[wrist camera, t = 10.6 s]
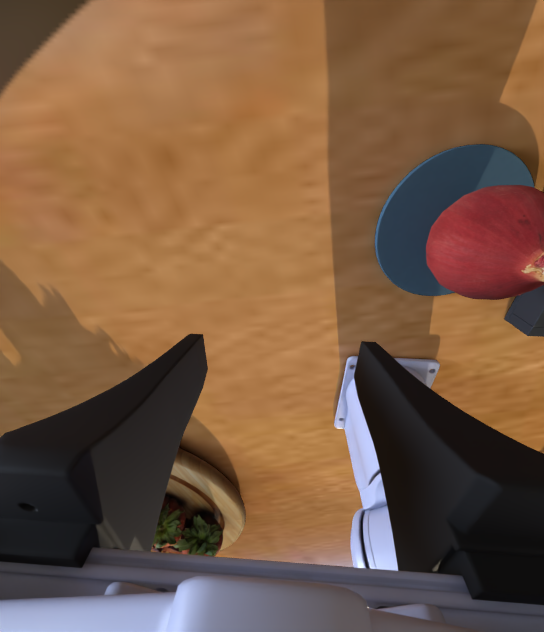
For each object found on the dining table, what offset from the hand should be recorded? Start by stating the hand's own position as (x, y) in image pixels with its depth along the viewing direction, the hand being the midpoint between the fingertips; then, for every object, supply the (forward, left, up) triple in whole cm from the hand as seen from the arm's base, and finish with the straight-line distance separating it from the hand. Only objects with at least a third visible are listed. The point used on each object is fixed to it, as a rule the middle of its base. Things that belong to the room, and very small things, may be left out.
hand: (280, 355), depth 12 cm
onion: (+4, -11, -9) cm, 15 cm away
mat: (+4, -11, -9) cm, 15 cm away
